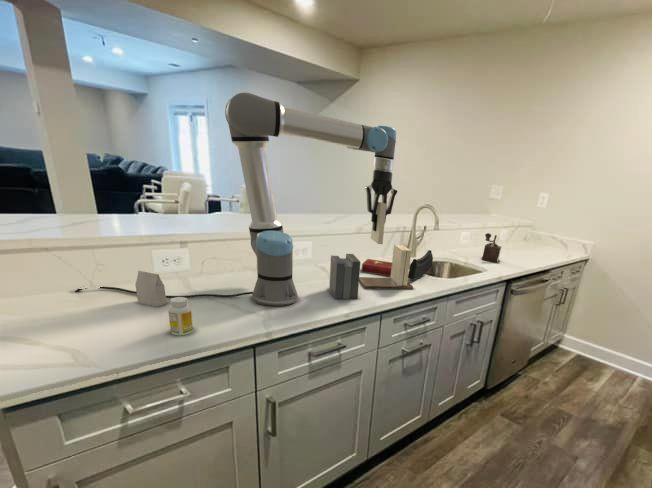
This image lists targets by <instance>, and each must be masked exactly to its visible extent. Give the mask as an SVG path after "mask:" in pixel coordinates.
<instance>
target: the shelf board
mask: <svg viewBox="0 0 652 488" xmlns="http://www.w3.org/2000/svg"><path fill="white" fill-rule="evenodd" d="M359 283H360V284H361V285H362V287H363V288H364V289H365V290H413V289H414V287H413V285H412V284H411V283H409V281H407V286H403V285H402V286H398V285H397V284H396V283H395V282H394V281H393V280H392V279H390V277H376V276H375V277H374V276H373V277H371V276H359Z"/></svg>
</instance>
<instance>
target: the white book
mask: <svg viewBox="0 0 652 488" xmlns="http://www.w3.org/2000/svg"><path fill="white" fill-rule="evenodd" d="M376 214H377V215H378V216H377V227H376V231H374V230H373V222H372V221H371V231H370V232H371V233H370V239H371V240H372V241H374V242H375V243H376V245H383V243H384V233H385V224H386V222H385V214H386V204H385V203H383V202H382V200H378V205H377V211H376Z"/></svg>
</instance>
